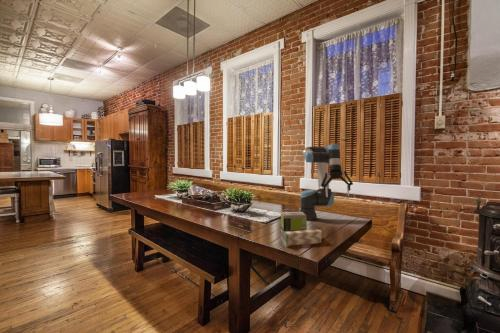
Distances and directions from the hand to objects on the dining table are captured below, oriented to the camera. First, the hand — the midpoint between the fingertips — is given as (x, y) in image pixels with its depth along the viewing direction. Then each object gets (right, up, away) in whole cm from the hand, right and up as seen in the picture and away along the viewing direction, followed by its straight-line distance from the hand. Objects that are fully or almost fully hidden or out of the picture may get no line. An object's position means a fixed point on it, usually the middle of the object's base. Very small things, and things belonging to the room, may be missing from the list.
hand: (337, 196), depth 165 cm
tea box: (-30, -26, -3) cm, 39 cm away
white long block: (-26, -26, -16) cm, 41 cm away
